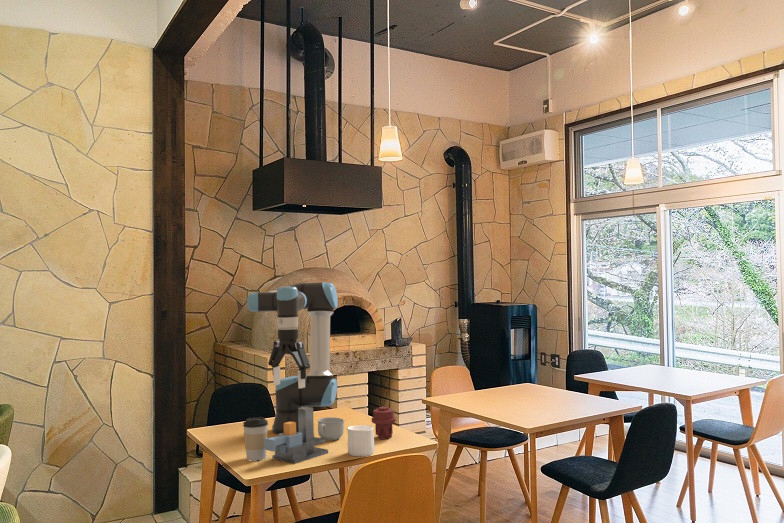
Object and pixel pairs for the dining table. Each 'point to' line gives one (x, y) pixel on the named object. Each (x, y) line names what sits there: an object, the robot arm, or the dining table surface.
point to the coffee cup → (255, 438)
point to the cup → (360, 440)
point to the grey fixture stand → (303, 440)
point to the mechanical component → (383, 422)
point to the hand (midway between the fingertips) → (289, 386)
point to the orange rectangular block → (290, 428)
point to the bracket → (283, 442)
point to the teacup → (330, 428)
